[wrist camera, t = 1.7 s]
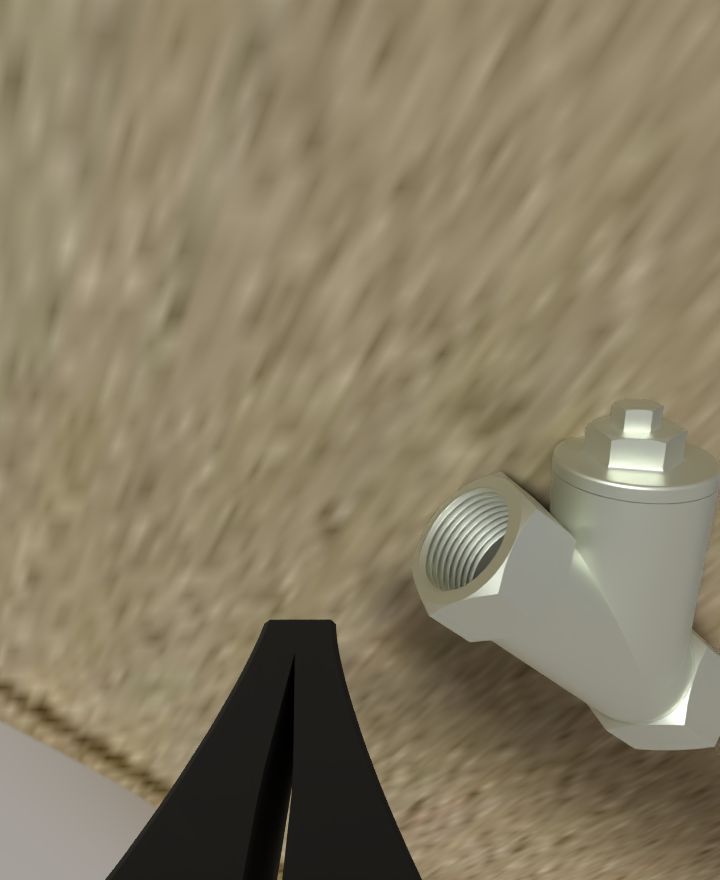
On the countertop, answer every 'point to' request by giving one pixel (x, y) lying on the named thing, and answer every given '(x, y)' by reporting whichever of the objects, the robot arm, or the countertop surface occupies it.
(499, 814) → the countertop surface
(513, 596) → the pipe fitting
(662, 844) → the countertop surface
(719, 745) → the grey bracket
